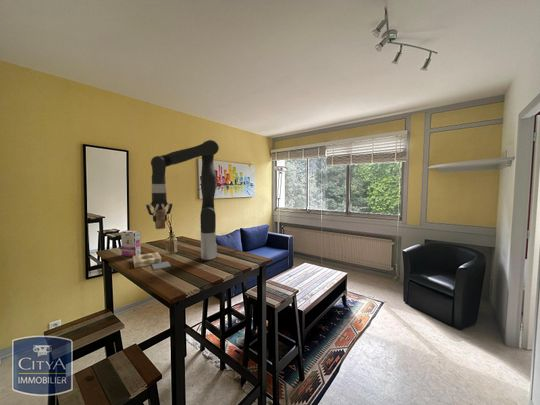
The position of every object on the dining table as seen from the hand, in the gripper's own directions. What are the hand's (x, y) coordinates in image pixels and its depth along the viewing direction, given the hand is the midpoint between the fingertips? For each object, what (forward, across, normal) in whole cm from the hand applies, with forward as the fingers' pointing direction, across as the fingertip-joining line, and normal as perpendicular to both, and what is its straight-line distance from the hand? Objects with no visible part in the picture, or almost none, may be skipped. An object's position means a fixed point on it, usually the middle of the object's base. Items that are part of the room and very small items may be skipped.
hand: (160, 221), depth 128 cm
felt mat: (+26, 0, 0) cm, 26 cm away
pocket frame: (+26, +6, -12) cm, 30 cm away
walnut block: (+4, 0, 0) cm, 4 cm away
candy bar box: (+27, +13, -30) cm, 43 cm away
